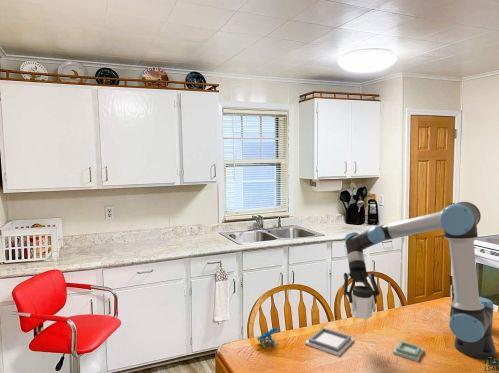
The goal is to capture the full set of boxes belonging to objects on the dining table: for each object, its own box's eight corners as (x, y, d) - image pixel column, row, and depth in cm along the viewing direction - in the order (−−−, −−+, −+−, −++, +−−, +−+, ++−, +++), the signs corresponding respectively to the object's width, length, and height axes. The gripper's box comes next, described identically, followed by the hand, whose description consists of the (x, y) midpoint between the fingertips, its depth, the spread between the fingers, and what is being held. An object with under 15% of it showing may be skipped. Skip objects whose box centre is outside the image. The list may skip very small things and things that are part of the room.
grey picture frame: (353, 340, 164) (354, 336, 163) (339, 356, 151) (339, 351, 151) (321, 330, 173) (321, 326, 173) (305, 343, 161) (305, 339, 160)
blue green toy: (272, 331, 168) (279, 323, 161) (278, 343, 166) (286, 336, 159) (252, 341, 163) (259, 333, 156) (258, 354, 160) (266, 346, 153)
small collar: (423, 351, 155) (424, 346, 155) (418, 361, 147) (418, 356, 147) (399, 343, 161) (399, 339, 161) (392, 353, 153) (392, 348, 153)
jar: (364, 321, 155) (366, 294, 154) (348, 315, 161) (349, 288, 160) (375, 315, 161) (376, 288, 160) (358, 309, 167) (359, 284, 166)
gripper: (377, 267, 174) (386, 314, 159) (333, 266, 175) (338, 313, 160) (381, 259, 168) (391, 307, 154) (335, 258, 169) (341, 306, 155)
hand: (364, 310), depth 157 cm, fingers closed on jar, 8 cm apart
